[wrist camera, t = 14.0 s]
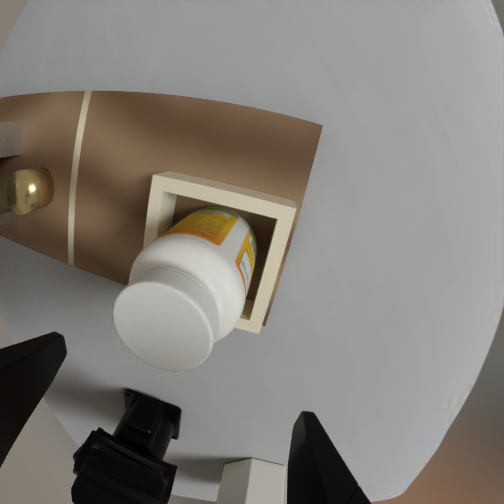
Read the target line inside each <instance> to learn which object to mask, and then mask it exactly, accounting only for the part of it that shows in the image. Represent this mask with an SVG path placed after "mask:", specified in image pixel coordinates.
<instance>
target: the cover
mask: <svg viewBox="0 0 504 504" xmlns="http://www.w3.org/2000/svg"><path fill="white" fill-rule="evenodd" d="M24 126H25V121H21V122H0V158H2V157H9V156H15V155H21V150H22V141H23V133H24ZM17 219H19V215H17V214H15V213H14V212H13V211H12V209H9V208H6V207H3V206H0V226H2V225H4V224H7V223H9V222H12V221H15V220H17Z"/></svg>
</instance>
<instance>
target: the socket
mask: <svg viewBox="0 0 504 504" xmlns="http://www.w3.org/2000/svg"><path fill="white" fill-rule="evenodd" d="M177 194H178V195H182V196H187V197H191V198H195V199H199V200H204V201H208V202H212V203H216V204H220V205H224V206H228V207H232V208H236V209H240V210H244V211H248V212H252V213H256V214H260V215H264V216H268V217H271V218H275V219H276V222H275V226H274V230H273V233H272V237H271V241H270V245H269V248H268V252H267V256H266V259H265V263H264V266H263V270H262V274H261V277H260V281H259V285H258V288H257V292H256V295H255V299H254V301H251V300H247V299H246V300H245V304H244V308H243V311H242V313H241V316H240V318H239V320H238V322H237V324H236V325H235V327H234V328H238V329H241V330H245V331H249V332H253V333H257V334H259V333H260V330H261V326H262V323H263V320H264V317H265V314H266V310H267V307H268V304H269V301H270V298H271V294H272V291H273V288H274V284H275V281H276V278H277V274H278V271H279V268H280V264H281V261H282V258H283V254H284V251H285V247H286V244H287V240H288V237H289V234H290V230H291V227H292V223H293V219H294V216H295V212H296V204H295V201H292V200H289V199H285V198H281V197H277V196H274V195H270V194H266V193H262V192H258V191H254V190H250V189H246V188H242V187H238V186H234V185H229V184H225V183H221V182H216V181H212V180H208V179H203V178H199V177H194V176H189V175H185V174H180V173H175V172H170V171H169V172H164V173H159V174H154V175H153V178H152V184H151V190H150V197H149V204H148V211H147V219H146V227H145V235H144V245H143V249H144V248H145V247H146V246H147V245H148V244H150V243H151V242H152V241H153V240H155V239H156V238H157V237H159V236H160V235H162V234H163V233H165V232H166V231H167V230H169V229H170V228H172V221H173V215H174V209H175V203H176V197H177Z"/></svg>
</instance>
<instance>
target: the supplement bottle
mask: <svg viewBox="0 0 504 504" xmlns="http://www.w3.org/2000/svg"><path fill="white" fill-rule="evenodd" d="M256 256H257V243H256V238H255V236H254V233H253V231H252V229H251V227H250V226H249V224H248V223H247V222H246V221H245V220H244V219H243V218H242V217H241V216H239V215H238V214H236V213H235V212H233V211H230V210H228V209H224V208H220V207H207V208H203V209H200V210H197V211H195V212H193V213H191V214H190V215H188V216H187V217H185V218H184V219H183V220H181V221H180V222H178V223H177V224H176V225H174V226H173V227H172V228H170V229H169V230H167V231H166V232H165V233H163V234H162V235H160V236H159V237H157V238H156V239H155V240H153V241H152V242H151V243H150V244H148V245H147V246H146V247H145V248H144V249H143V250H142V251H141V252H140V254H139V255H138V256H137V258H136V260H135V261H134V263H133V266H132V269H131V272H130V277H129V284H128V285H127V286H126V287H125V288H124V289H123V290H122V291H121V292H120V293H119V295H118V296H117V298H116V300H115V304H114V308H113V319H114V324H115V327H116V330H117V333H118V335H119V336H120V338H121V340H122V341H123V343H124V344H125V346H126V347H127V348H128V349H129V350H130V351H131V352H132V353H133V354H134V355H135V356H137V357H138V358H139V359H141V360H142V361H143V362H145V363H147V364H149V365H151V366H153V367H156V368H159V369H162V370H166V371H175V372H178V371H187V370H190V369H193V368H195V367H197V366H199V365H200V364H202V363H203V362H204V361H205V360H206V359H207V357H208V356H209V354H210V352H211V350H212V348H213V345H214V343H215V342H217V341H219V340H221V339H223V338H224V337H225V336H227V335H228V334H229V333H230V332H231V331H232V330H233V328H234V327H235V325H236V324H237V322H238V320H239V318H240V316H241V313H242V311H243V308H244V304H245V300H246V296H247V293H248V289H249V285H250V281H251V277H252V274H253V270H254V266H255V262H256Z"/></svg>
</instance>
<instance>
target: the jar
mask: <svg viewBox="0 0 504 504" xmlns="http://www.w3.org/2000/svg"><path fill="white" fill-rule="evenodd" d="M286 486H287V477H286V469H285V466H284V465H280V464H275V463H271V462H266V461H262V460H258V459H254V458H250V459H246V460H242V461H237V462H233V463H229V464H225V465H224V469H223V473H222V478H221V482H220V487H219V491H218V496H217V500H216V504H285V503H286Z"/></svg>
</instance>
